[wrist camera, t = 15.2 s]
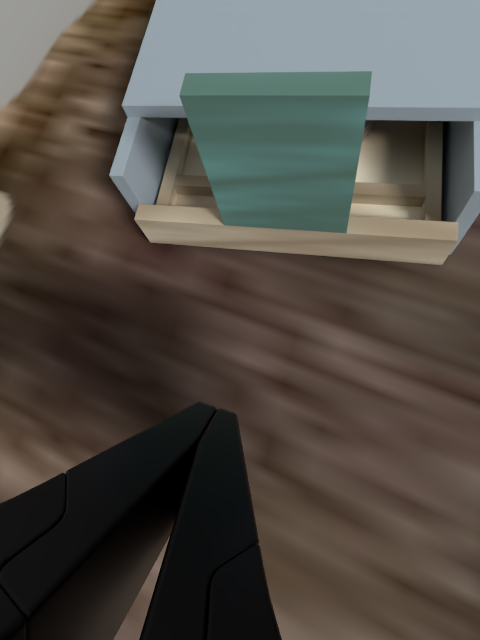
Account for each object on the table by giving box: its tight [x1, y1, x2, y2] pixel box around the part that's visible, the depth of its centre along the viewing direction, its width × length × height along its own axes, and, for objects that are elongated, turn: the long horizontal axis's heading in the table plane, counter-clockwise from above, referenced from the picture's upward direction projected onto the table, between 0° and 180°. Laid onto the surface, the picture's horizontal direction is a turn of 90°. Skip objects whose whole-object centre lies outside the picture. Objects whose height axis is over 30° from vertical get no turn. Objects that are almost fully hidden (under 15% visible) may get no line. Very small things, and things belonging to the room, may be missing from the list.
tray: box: [134, 71, 458, 265], centre depth 17 cm, size 14×13×8 cm
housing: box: [109, 0, 480, 255], centre depth 19 cm, size 14×14×5 cm
